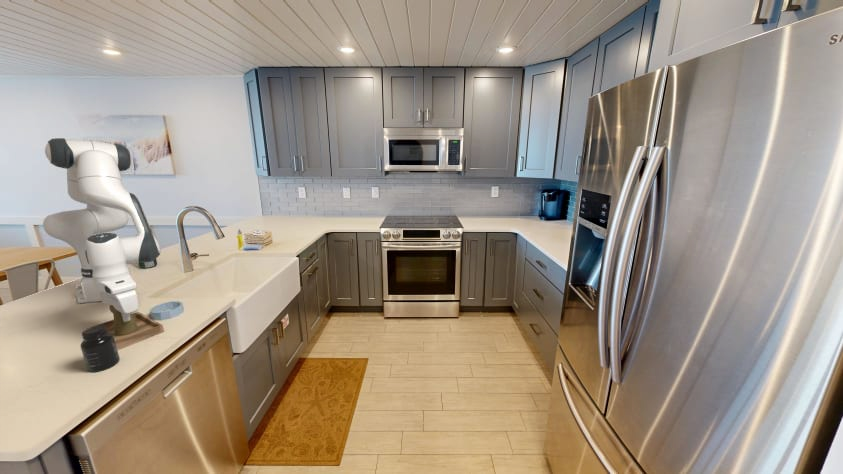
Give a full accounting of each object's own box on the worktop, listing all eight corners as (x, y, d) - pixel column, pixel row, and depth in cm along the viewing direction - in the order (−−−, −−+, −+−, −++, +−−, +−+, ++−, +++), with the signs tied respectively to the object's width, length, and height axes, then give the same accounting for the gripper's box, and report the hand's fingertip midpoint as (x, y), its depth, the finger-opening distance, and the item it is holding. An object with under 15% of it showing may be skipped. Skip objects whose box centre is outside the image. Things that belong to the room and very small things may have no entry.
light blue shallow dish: (147, 316, 120) (145, 309, 120) (176, 305, 129) (175, 299, 128) (159, 322, 116) (157, 315, 115) (188, 311, 124) (187, 304, 123)
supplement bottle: (102, 358, 95) (92, 323, 92) (126, 357, 96) (117, 322, 93) (80, 373, 88) (69, 336, 85) (106, 372, 89) (95, 335, 86)
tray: (88, 335, 107) (86, 328, 107) (139, 317, 119) (137, 311, 119) (111, 352, 98) (109, 345, 97) (164, 331, 110) (162, 325, 109)
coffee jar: (139, 265, 176) (132, 233, 171) (157, 262, 181) (150, 231, 176) (138, 270, 169) (131, 237, 164) (157, 267, 174) (150, 235, 169)
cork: (123, 336, 105) (115, 306, 102) (110, 334, 106) (101, 305, 103) (142, 327, 111) (135, 299, 108) (129, 325, 112) (122, 297, 109)
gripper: (89, 278, 106) (99, 314, 109) (113, 291, 96) (123, 330, 100) (113, 272, 111) (122, 307, 115) (138, 284, 102) (147, 322, 105)
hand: (123, 318), depth 107 cm, fingers closed on cork, 4 cm apart
